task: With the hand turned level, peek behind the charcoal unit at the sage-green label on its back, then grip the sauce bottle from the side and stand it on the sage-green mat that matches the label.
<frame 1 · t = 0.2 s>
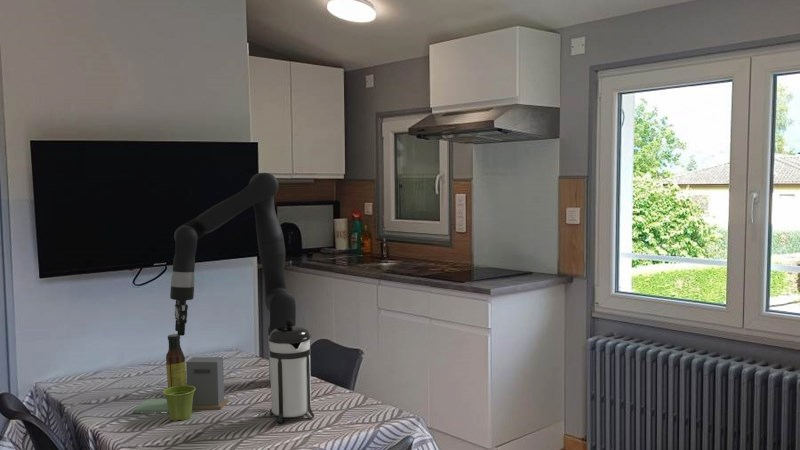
hand: (179, 333, 227), 21 cm above the table, tool pointing down, fingers open, 8 cm apart
green mat: (158, 407, 216), on the table
plant pot: (180, 418, 206), on the table
coffee press: (289, 415, 207), on the table
sauce bottle: (177, 392, 232), on the table
charcoal unit: (206, 405, 218), on the table
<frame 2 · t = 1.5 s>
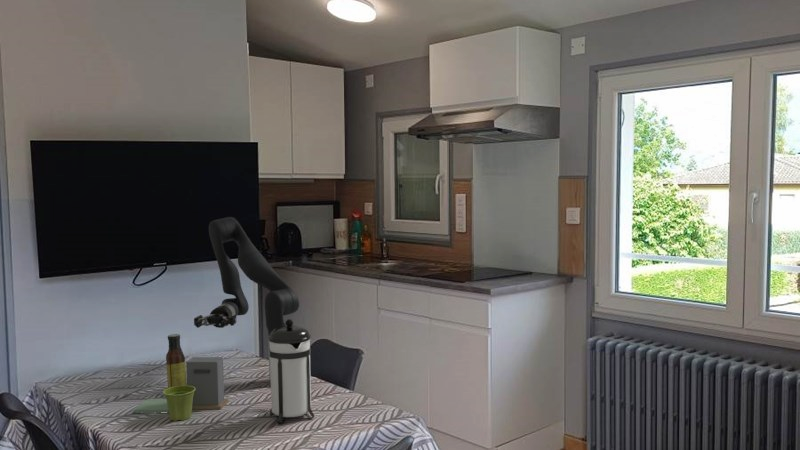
hand: (209, 324, 236), 22 cm above the table, tool horizontal, fingers open, 8 cm apart
nothing on the table moved.
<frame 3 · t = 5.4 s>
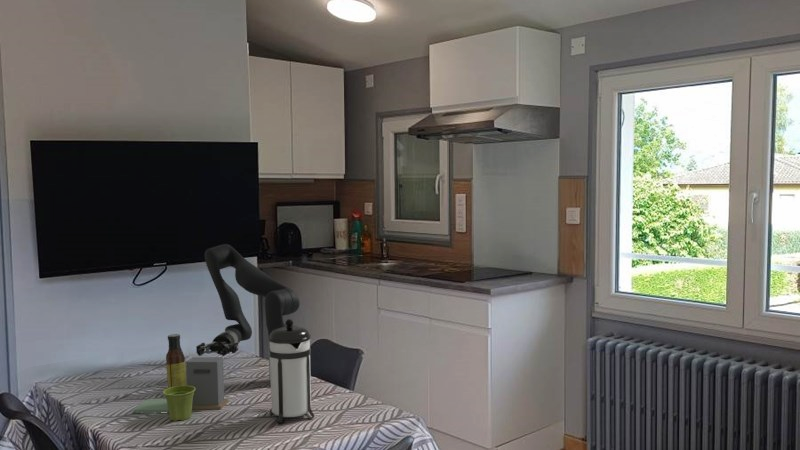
hand: (211, 353, 239), 12 cm above the table, tool horizontal, fingers open, 8 cm apart
nothing on the table moved.
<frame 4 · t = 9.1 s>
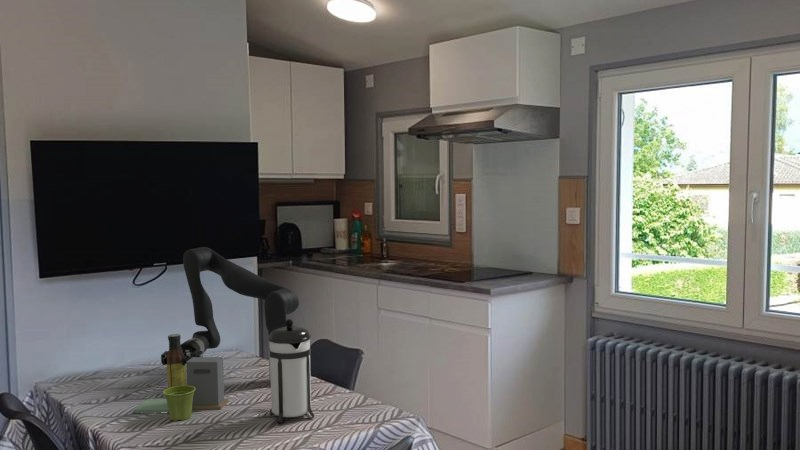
hand: (173, 362, 229), 11 cm above the table, tool horizontal, fingers closed on sauce bottle, 6 cm apart
sauce bottle: (177, 392, 232), on the table, touching gripper
everything else where it was.
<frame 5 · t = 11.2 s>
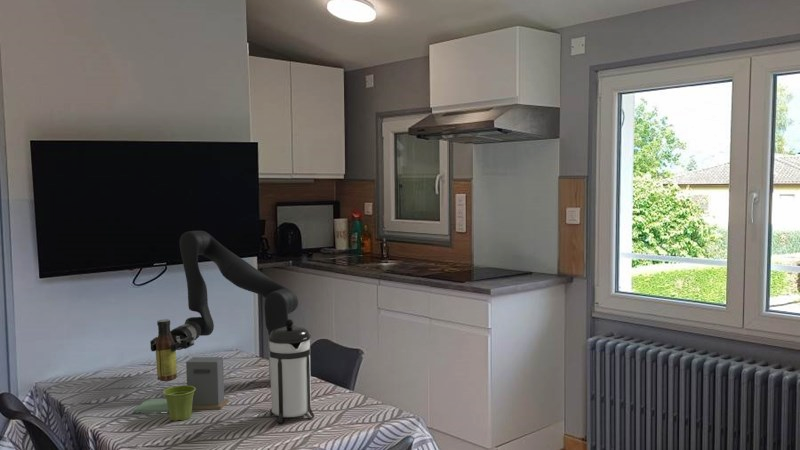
hand: (162, 348, 221), 18 cm above the table, tool horizontal, fingers closed on sauce bottle, 6 cm apart
sauce bottle: (166, 379, 224), point 7 cm above the table, touching gripper
everything else where it was.
when the fingers open (13 cm above the table, at t = 13.4 s): sauce bottle drops 1 cm, resting on green mat.
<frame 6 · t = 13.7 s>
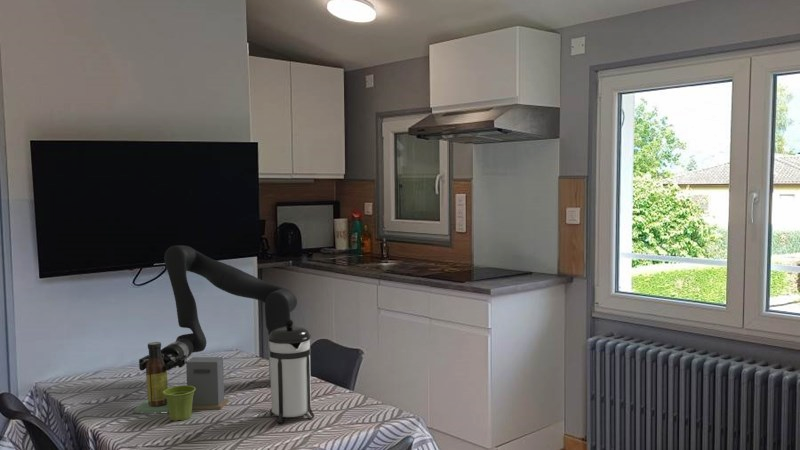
hand: (154, 367, 214), 13 cm above the table, tool horizontal, fingers open, 8 cm apart
sauce bottle: (157, 404, 216), point 1 cm above the table, touching green mat
everything else where it was.
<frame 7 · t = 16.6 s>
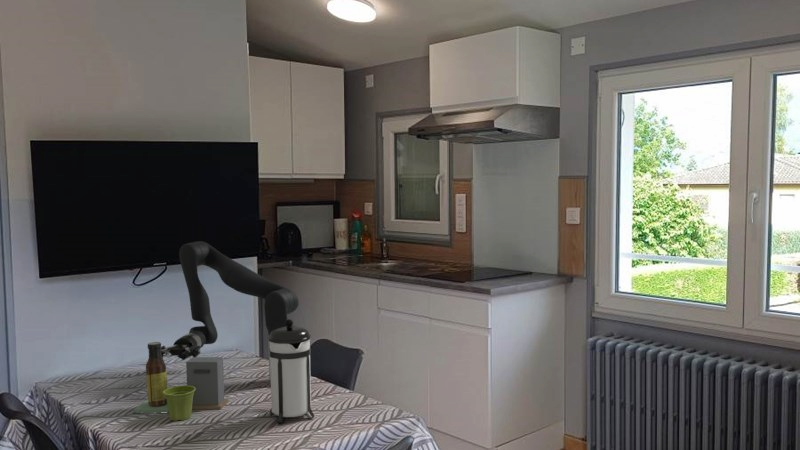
hand: (170, 357, 227), 13 cm above the table, tool horizontal, fingers open, 8 cm apart
nothing on the table moved.
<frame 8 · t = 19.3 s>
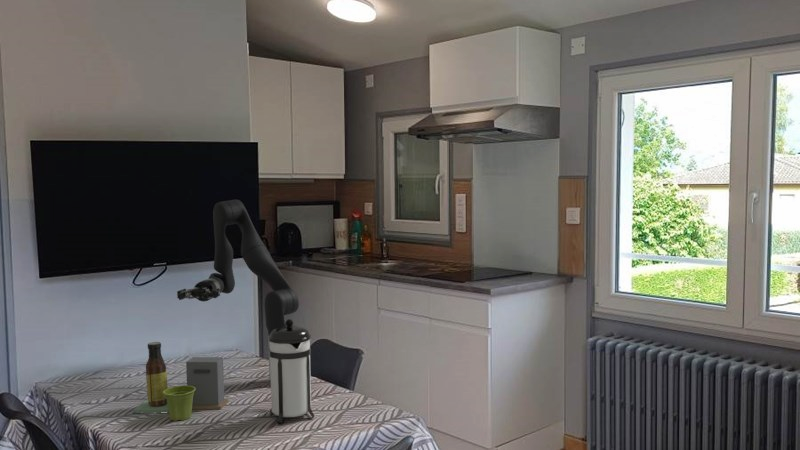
hand: (191, 296, 236), 32 cm above the table, tool horizontal, fingers open, 8 cm apart
nothing on the table moved.
at the end: sauce bottle inside the target area on the green mat (0.2 cm from its centre), point 0.8 cm above the green mat's base; sauce bottle tilted 0°; the gripper is holding nothing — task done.
